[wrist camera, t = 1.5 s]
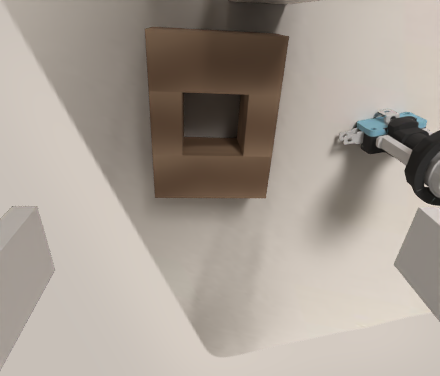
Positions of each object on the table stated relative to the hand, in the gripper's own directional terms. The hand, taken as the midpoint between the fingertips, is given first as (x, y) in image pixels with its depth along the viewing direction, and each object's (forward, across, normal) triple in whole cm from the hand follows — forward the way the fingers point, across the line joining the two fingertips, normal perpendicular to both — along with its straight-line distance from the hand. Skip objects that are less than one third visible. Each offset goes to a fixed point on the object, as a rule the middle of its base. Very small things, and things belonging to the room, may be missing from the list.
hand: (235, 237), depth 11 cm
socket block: (+17, 0, 0) cm, 17 cm away
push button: (+17, +14, -1) cm, 22 cm away
